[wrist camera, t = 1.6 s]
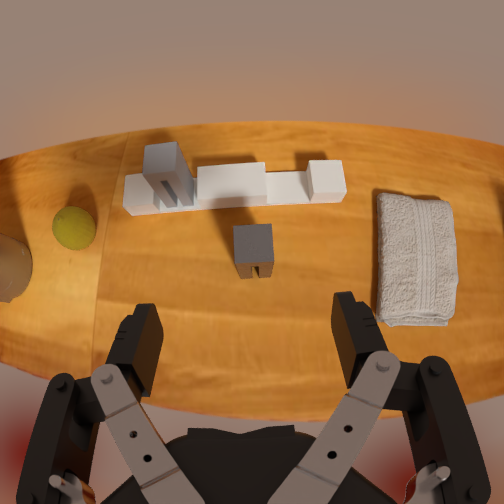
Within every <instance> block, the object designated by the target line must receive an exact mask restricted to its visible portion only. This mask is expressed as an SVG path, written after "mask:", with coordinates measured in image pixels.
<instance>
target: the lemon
mask: <svg viewBox="0 0 504 504" xmlns="http://www.w3.org/2000/svg"><path fill="white" fill-rule="evenodd" d="M52 230H53V234H54V236H55V238H56V239H57V241H58V242H59V243H60V244H61V245H63V246H64V247H66V248H68V249H71V250H81V249H85V248H86V247H88V246H89V245H90V244H91V243H92V241H93V240H94V238H95V234H96V225H95V222H94V220H93V218H92V216H91V215H90V214H89V213H88V212H87V211H85V210H84V209H82V208H79V207H75V206H68V207H65V208H63V209H61V210H60V211H59V212H58V213H57V214H56V215H55V217H54V220H53V224H52Z"/></svg>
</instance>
